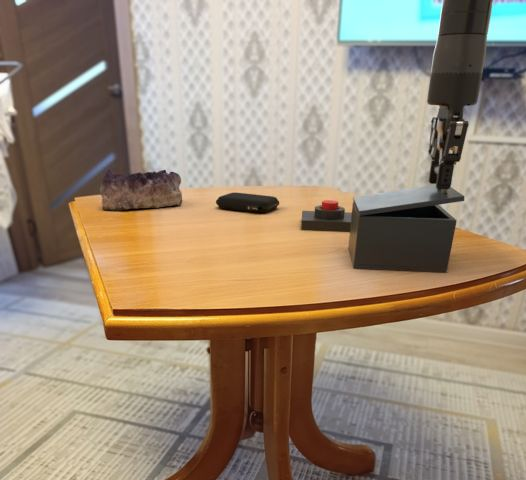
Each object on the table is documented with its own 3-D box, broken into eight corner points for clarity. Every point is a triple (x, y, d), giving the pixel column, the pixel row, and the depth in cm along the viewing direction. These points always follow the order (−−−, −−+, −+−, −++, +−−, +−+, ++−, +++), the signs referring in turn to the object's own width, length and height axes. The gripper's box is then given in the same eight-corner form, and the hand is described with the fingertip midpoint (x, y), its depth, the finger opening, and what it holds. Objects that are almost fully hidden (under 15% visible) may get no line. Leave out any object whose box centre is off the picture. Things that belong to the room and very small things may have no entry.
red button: (337, 208, 113) (338, 200, 113) (338, 211, 110) (338, 203, 109) (321, 207, 114) (321, 199, 113) (321, 211, 110) (322, 203, 110)
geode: (112, 215, 118) (103, 170, 115) (97, 213, 127) (88, 171, 124) (190, 204, 128) (184, 161, 125) (171, 202, 138) (165, 163, 134)
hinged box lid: (445, 187, 91) (445, 158, 89) (464, 201, 80) (464, 168, 78) (353, 201, 94) (351, 173, 91) (359, 216, 82) (356, 184, 80)
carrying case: (210, 209, 126) (264, 216, 121) (210, 197, 125) (264, 203, 120) (230, 202, 135) (281, 208, 130) (230, 190, 134) (282, 196, 128)
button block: (353, 222, 118) (355, 204, 116) (357, 232, 109) (359, 213, 107) (301, 220, 118) (302, 202, 117) (301, 230, 109) (302, 211, 108)
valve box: (430, 251, 97) (438, 204, 93) (446, 272, 85) (456, 220, 81) (348, 248, 98) (352, 201, 94) (353, 268, 86) (358, 216, 82)
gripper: (497, 69, 71) (474, 194, 79) (468, 72, 84) (450, 179, 91) (442, 68, 71) (424, 193, 79) (422, 72, 84) (408, 179, 92)
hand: (438, 185), depth 85 cm, fingers closed on hinged box lid, 5 cm apart
